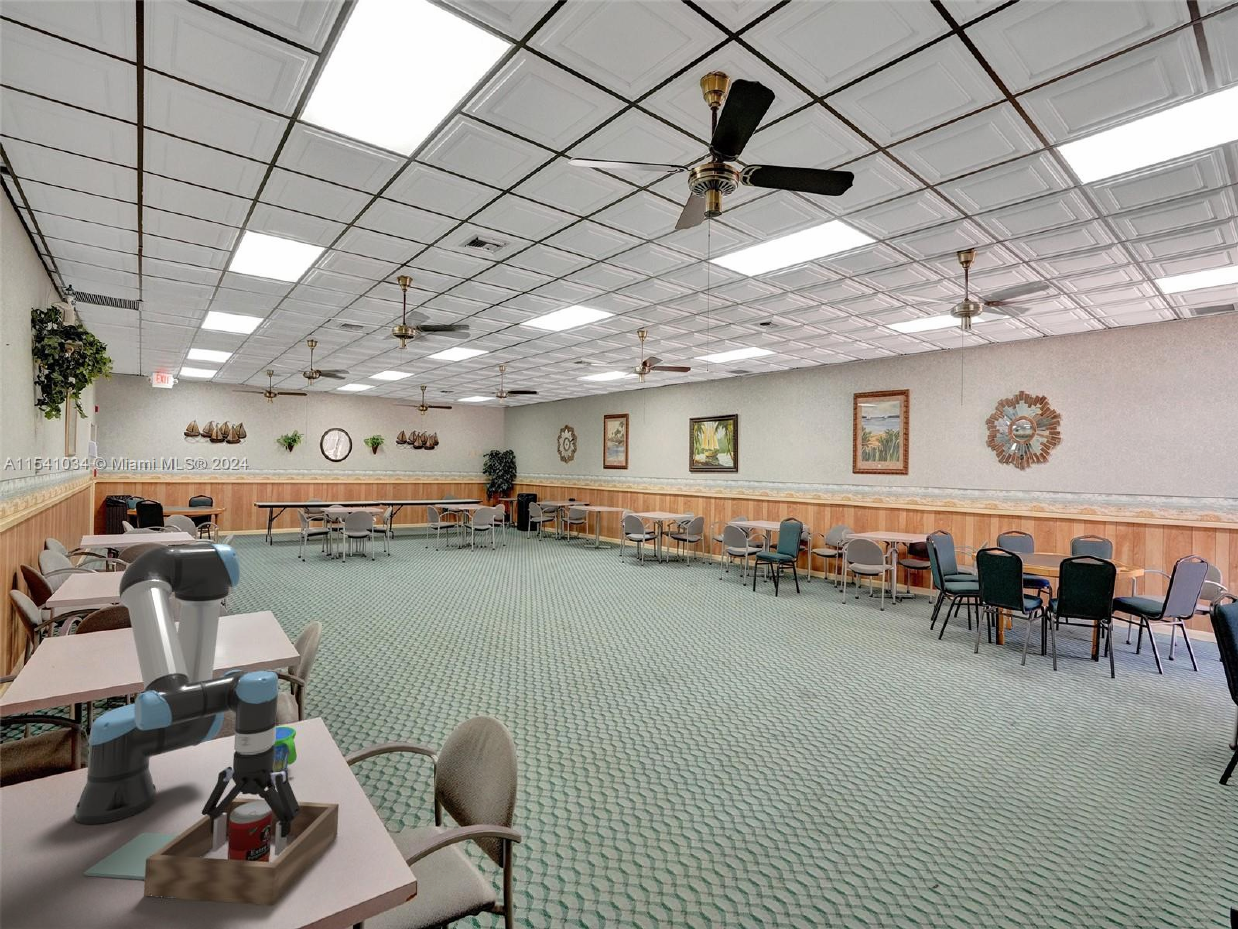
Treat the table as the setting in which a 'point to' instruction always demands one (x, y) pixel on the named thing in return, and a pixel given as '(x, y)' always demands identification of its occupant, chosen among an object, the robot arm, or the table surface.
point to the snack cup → (284, 748)
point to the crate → (238, 880)
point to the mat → (131, 857)
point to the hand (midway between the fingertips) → (249, 850)
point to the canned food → (250, 832)
